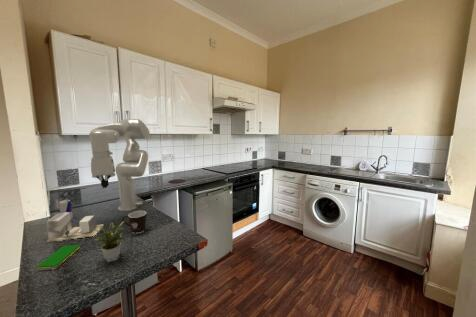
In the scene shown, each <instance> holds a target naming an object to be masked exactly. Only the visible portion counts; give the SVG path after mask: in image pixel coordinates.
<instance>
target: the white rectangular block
mask: <svg viewBox="0 0 476 317" xmlns="http://www.w3.org/2000/svg"><path fill="white" fill-rule="evenodd" d="M78 223H79V227H80V230H79V231H78V234H80V233H87V232H91V231H92V230H93V229H94V227H95V226H96V225H97V224H96V215H86V216H84V217H83V218H82V219H80V221H79V222H78Z"/></svg>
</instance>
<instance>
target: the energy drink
mask: <svg viewBox="0 0 476 317" xmlns="http://www.w3.org/2000/svg"><path fill="white" fill-rule="evenodd" d="M58 207H59V213H65V212H70V219H71V221H73V219H74V214H73V207H72V200H71V199H63V200H59V202H58Z"/></svg>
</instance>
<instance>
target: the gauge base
mask: <svg viewBox="0 0 476 317" xmlns="http://www.w3.org/2000/svg"><path fill="white" fill-rule="evenodd" d="M100 225H101V226H103V227H104V223H102V224H96V226H95V227H94V229H95V230H97V231H99V232H101V231H102V230H101V228H99V226H100ZM66 226H67V230H68V231H70V233H69V234H68V236H67V235H65V233H66V232H67V231H66ZM101 226H100V227H101ZM46 229H47V236H48V239H47V240H46V243H47V242H48V243H55V242H54V241H57V242H64V241H63V240H65V241H71V240H70V239H74V240H78V239H77V238H83V239H86V238H85V237H92V236H95V235H96V234H97V233H98V232H97V231H95V230H92V231H91V232H87V233H80V234H78V231H79V230H80V226H74V227H72V220H71V219H70V212H65V213H60V212H58V213H57V214H55V215H54V216H52V217H51V218H49V219H48V220H47V221H46ZM98 234H99V233H98ZM98 234H97V235H98ZM97 235H96V236H97ZM96 236H95V237H96ZM92 238H93V237H92Z"/></svg>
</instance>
